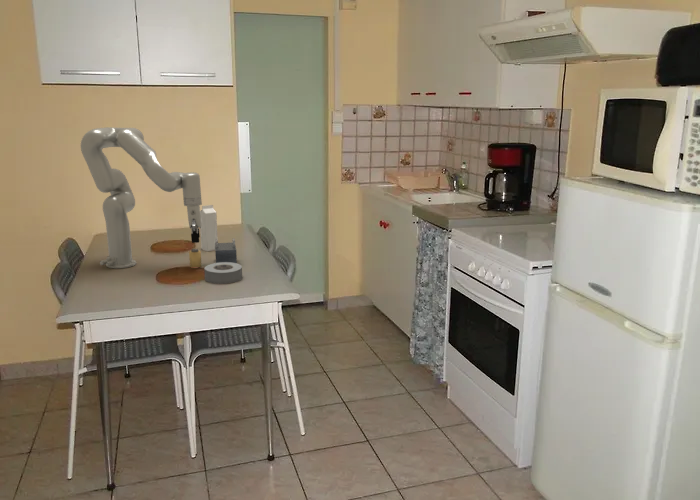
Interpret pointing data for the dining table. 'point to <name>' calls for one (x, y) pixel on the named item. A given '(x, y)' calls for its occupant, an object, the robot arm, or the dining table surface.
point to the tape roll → (223, 272)
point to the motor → (225, 252)
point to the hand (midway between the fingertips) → (195, 240)
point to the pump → (195, 258)
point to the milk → (208, 228)
